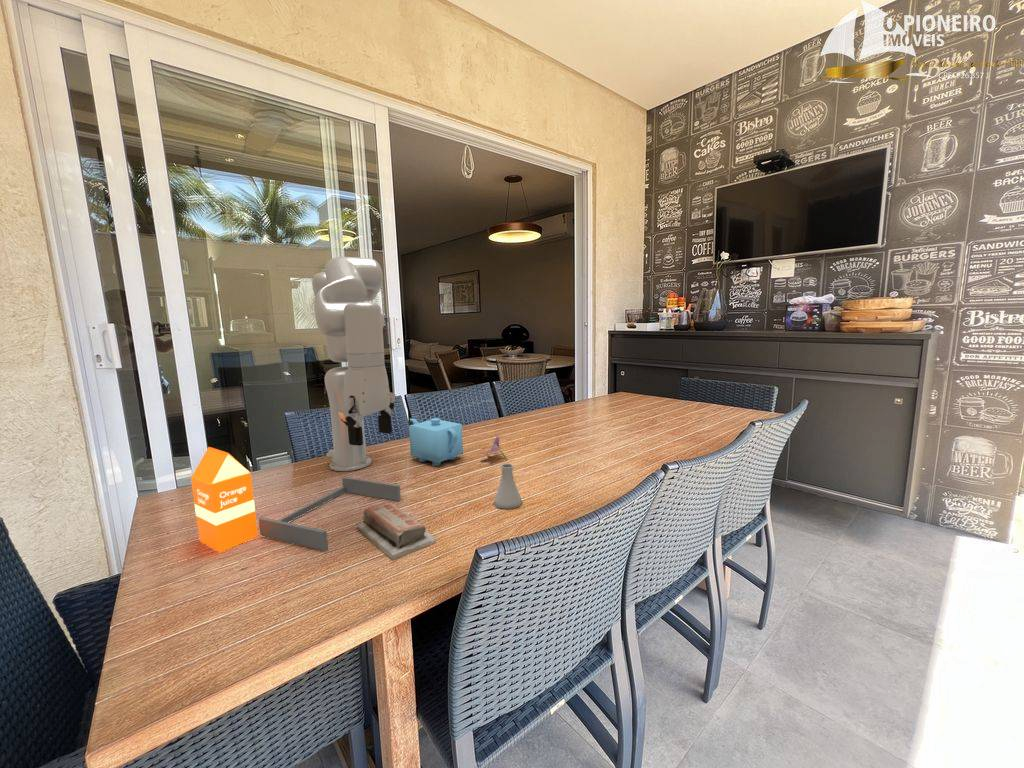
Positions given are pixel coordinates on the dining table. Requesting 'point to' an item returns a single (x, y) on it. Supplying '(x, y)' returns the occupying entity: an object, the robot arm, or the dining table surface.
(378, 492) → the grey twin-plate frame
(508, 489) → the flask
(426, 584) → the dining table surface
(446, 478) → the dining table surface
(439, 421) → the teapot
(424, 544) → the packaged product
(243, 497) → the orange juice
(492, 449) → the lily
